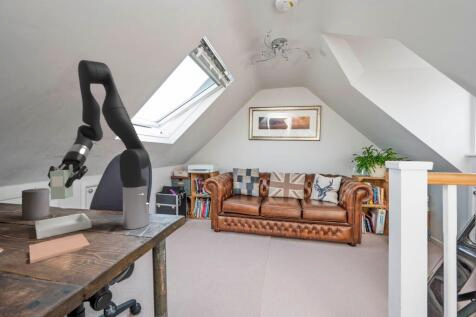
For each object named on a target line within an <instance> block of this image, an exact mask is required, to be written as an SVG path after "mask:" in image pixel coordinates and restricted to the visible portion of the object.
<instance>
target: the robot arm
mask: <svg viewBox="0 0 476 317" xmlns="http://www.w3.org/2000/svg"><path fill="white" fill-rule="evenodd" d="M77 74H78V82H79V89H80V95H81V104H82V105H81V106H82V108H81V109H82V110H81V112H82V115H81V116H82V117H81V118H82V119H81V120H82V122H83V123H84V124H82V125H80V126H78V128H77V133H76V138H75V140H74V143H73V144H72V146H70V148H69V149H68V150H67V152H66V154H65V155H64V156H63V159H62V161H61V163H60V164H59V165H57V166H54V165H51V166H50V167H49V169H48V172H47V178H48V179H49V180H50V171H58V170H72V171H71V174H70V178H68V180H67V182H66V183H65V187H66V188H69V187H71V186H72V184H73V185H74V182H75V181H76V180H78V181H80V180H81V179H82V178H83V177H84V176H85V175H86V173H88V171H89V169H88V167H87V166H86V165H85V163H86V161H87V159H88V157H89V154H90V152H91V150H92V148H93V146H94V142H99V141H101V140H103V137H104V132H103V129H102V125H101V124H102V123H101V113H102V116H103V117H104V120H105V122H106V124H107V126H108V127H109V129H110V130H111V131H112V132H113V133H114V135H115V136H116V137H118V138H119V139H120V141H121V142H122V143H123V145H124V147H125V149H124V150H123V151H122V152H121V154H120V155H119V160H118V161H119V163H118V164H119V176H120V181H121V183H122V224H123V226H122V227H123V229H125V230H136V229H140V228H143V227H146V226H148V225H150V203H149V202H148V194H147V192H148V186H147V184H148V183H147V182H148V181H147V179H146V178H145V177H143V175H142V170H144V169H146V168H147V167H148V166H149V165H150V162H151V161H150V160H151V159H150V158H151V157H150V155H149V153H148V151H147V149H146V148H145V146H144V144H143V143H142V141H141V139H140V137H139V135H138V134H137V131H136V129H135V126H134V125H133V122H132V120H131V118H130V115H129V114H128V111H127V108H126V107H125V105H124V103H123V100H122V98H121V96H120V94H119V90H118V88H117V86H116V83H115V80H114V77H113V74H112V72H111V69H110V67H109V66H108V65H107V64H106V63H104V62H102V61H101V62H100V61H95V60H87V59H84V60H83V59H82V60H80V61H79V62H78V64H77ZM91 84H93V85H94V84H95V85H102V87H103V89H104V91H105V97H104V98H103V103H102V106H100V104H99V102H98V101H97V100H96V98H95V97H94V95H93V92H92V91H91ZM47 186H48V187H49V188H50V181H49V182H48V184H47Z"/></svg>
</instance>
